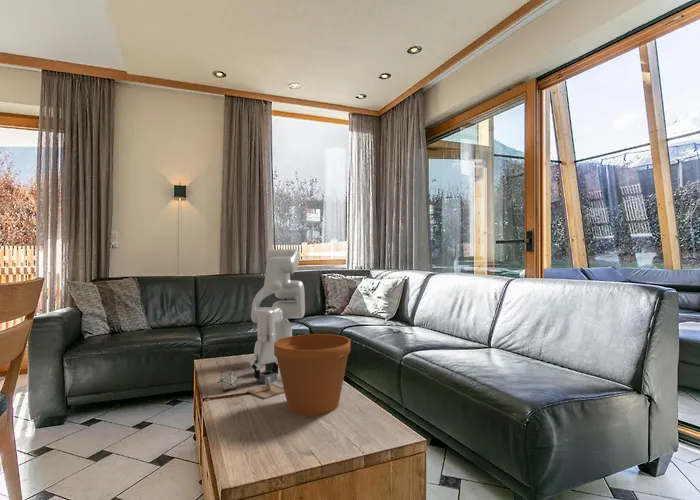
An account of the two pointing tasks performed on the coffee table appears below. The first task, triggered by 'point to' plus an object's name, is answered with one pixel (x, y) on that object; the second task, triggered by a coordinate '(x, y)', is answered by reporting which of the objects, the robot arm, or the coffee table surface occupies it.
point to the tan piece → (267, 390)
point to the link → (267, 374)
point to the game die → (228, 380)
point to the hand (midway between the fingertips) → (266, 376)
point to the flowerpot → (312, 371)
